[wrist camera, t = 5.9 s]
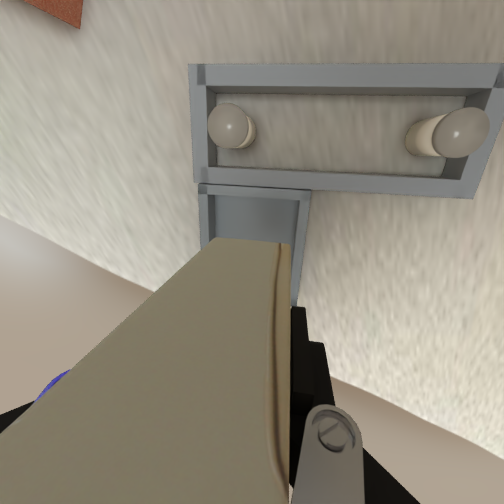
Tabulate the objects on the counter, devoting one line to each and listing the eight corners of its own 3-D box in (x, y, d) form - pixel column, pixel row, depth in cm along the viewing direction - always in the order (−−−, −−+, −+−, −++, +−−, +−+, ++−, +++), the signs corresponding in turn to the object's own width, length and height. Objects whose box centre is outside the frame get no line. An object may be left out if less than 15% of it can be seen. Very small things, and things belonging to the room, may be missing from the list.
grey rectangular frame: (494, 74, 21) (524, 63, 18) (453, 194, 25) (473, 199, 22) (199, 73, 24) (187, 63, 22) (203, 179, 28) (193, 182, 26)
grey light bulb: (257, 114, 25) (247, 103, 20) (255, 150, 26) (246, 149, 21) (225, 113, 25) (206, 102, 20) (225, 148, 27) (207, 147, 21)
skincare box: (281, 337, 15) (263, 901, 4) (210, 328, 15) (-6, 797, 4) (291, 238, 13) (328, 897, 1) (208, 231, 13) (-286, 669, 2)
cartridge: (448, 118, 23) (497, 107, 17) (436, 157, 24) (478, 158, 19) (409, 117, 23) (445, 106, 18) (399, 156, 25) (430, 156, 19)
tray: (309, 186, 27) (311, 190, 24) (296, 292, 32) (296, 307, 29) (207, 180, 28) (197, 183, 25) (210, 283, 34) (202, 295, 31)
